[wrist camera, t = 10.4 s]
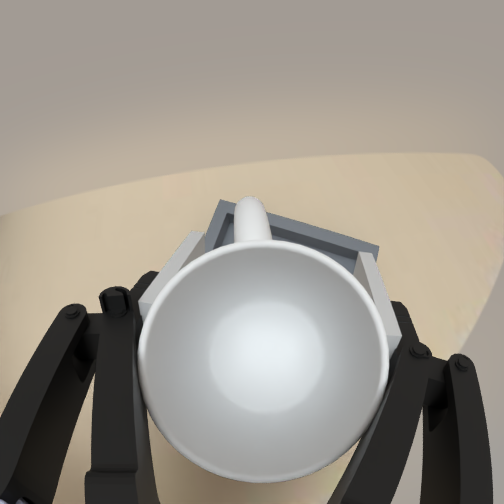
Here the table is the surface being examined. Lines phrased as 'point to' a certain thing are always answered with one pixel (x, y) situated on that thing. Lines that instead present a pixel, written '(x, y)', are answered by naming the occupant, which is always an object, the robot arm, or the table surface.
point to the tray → (290, 236)
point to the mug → (262, 357)
